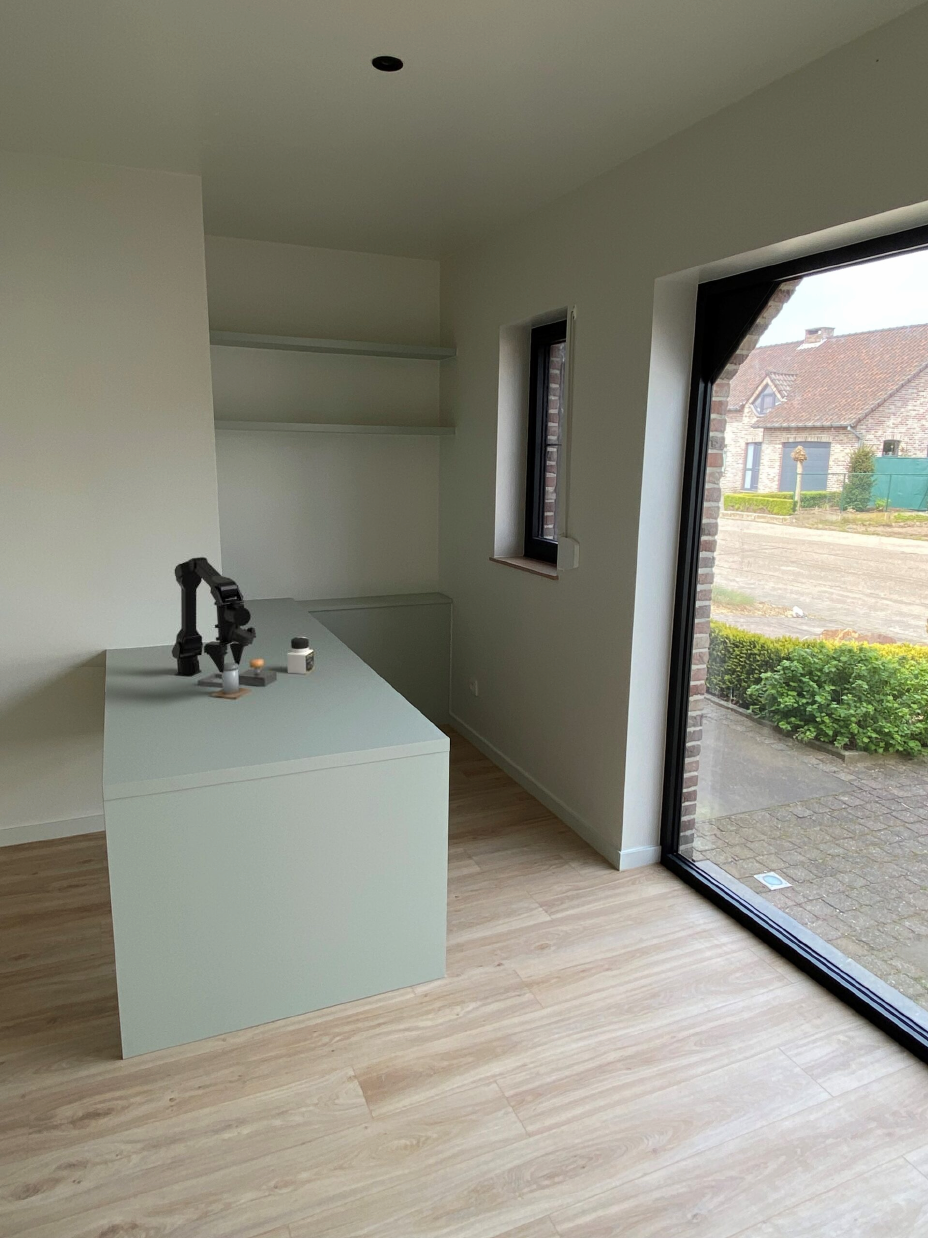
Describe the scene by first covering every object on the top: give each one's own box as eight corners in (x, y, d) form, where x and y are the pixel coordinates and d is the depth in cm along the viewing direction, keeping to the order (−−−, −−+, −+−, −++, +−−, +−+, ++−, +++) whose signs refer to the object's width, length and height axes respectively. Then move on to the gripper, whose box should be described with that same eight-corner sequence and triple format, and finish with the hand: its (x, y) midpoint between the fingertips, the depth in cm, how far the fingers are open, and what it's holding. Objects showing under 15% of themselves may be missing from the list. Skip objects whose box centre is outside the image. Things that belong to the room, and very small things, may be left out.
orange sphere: (247, 674, 266) (247, 661, 266) (254, 670, 271) (253, 658, 270) (259, 675, 265) (259, 662, 264) (266, 671, 269) (265, 659, 269)
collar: (197, 685, 265) (197, 680, 264) (214, 676, 274) (214, 672, 274) (224, 687, 262) (224, 683, 262) (240, 679, 271) (240, 675, 271)
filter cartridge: (219, 693, 254) (218, 666, 252) (228, 689, 259) (226, 662, 257) (233, 694, 253) (232, 667, 251) (242, 690, 257) (240, 663, 256)
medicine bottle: (306, 674, 278) (305, 641, 275) (287, 673, 279) (285, 639, 276) (314, 668, 284) (313, 636, 282) (295, 667, 286) (294, 635, 283)
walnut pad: (210, 696, 253) (210, 694, 253) (226, 688, 261) (226, 686, 261) (236, 699, 250) (235, 697, 250) (250, 690, 259) (250, 689, 259)
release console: (238, 683, 266) (237, 675, 266) (250, 677, 274) (250, 668, 273) (264, 686, 264) (264, 677, 263) (276, 679, 271) (276, 671, 270)
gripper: (233, 628, 240) (236, 678, 243) (264, 616, 257) (267, 662, 261) (201, 626, 243) (204, 675, 246) (234, 614, 260) (236, 660, 263)
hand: (229, 668), depth 254 cm, fingers open, 9 cm apart
